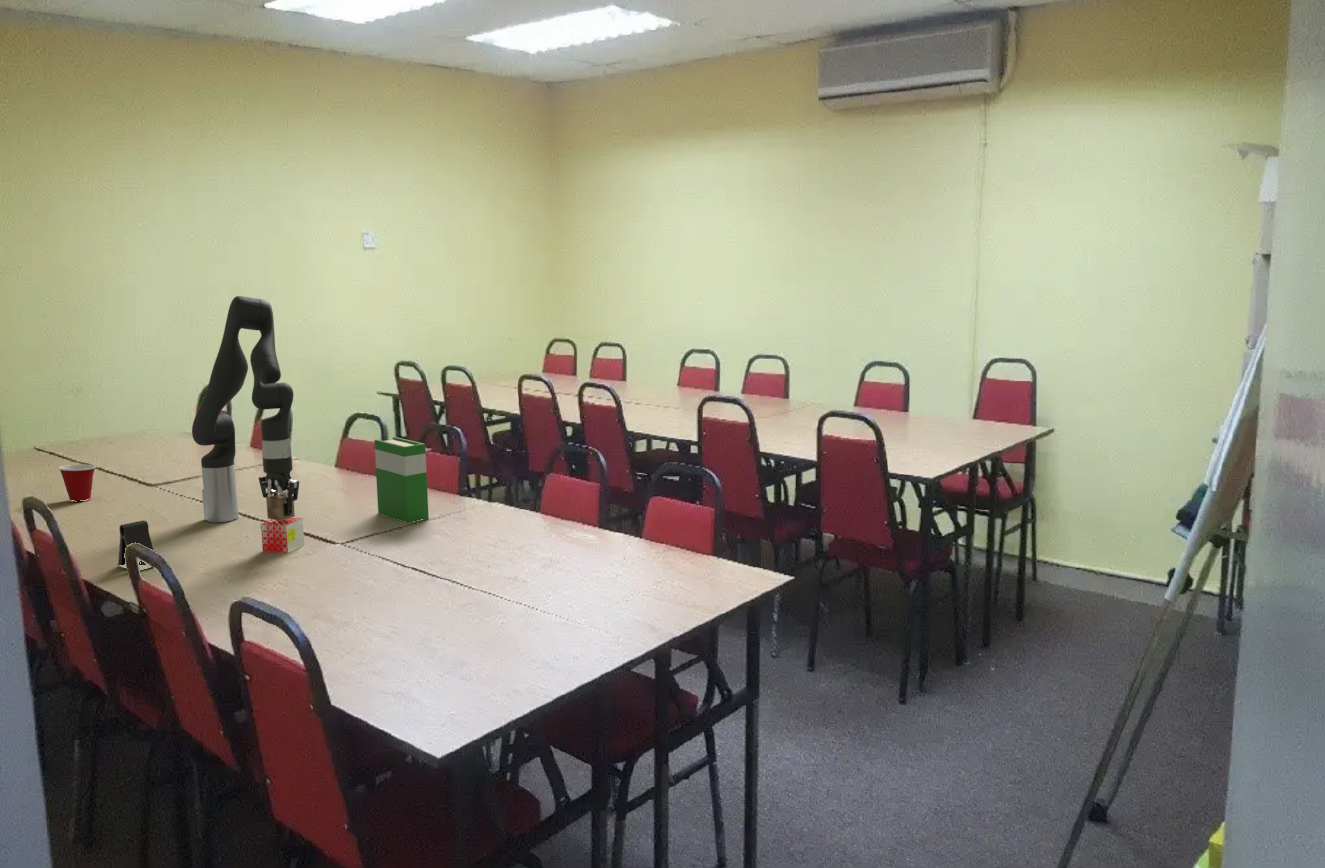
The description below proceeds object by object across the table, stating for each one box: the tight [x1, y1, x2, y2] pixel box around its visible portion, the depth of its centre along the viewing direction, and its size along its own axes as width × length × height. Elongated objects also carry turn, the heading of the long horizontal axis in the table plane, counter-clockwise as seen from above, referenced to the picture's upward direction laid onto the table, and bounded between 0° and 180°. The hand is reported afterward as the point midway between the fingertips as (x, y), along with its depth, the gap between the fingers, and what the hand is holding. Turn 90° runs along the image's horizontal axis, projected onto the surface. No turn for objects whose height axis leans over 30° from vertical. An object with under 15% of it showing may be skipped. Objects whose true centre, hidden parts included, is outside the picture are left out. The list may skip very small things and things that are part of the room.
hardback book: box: [374, 436, 430, 524], centre depth 297 cm, size 18×7×24 cm, turn 46°
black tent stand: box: [117, 520, 154, 570], centre depth 247 cm, size 9×6×12 cm, turn 53°
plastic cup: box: [58, 464, 97, 501], centre depth 317 cm, size 11×11×12 cm
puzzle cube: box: [260, 517, 305, 554], centre depth 265 cm, size 8×8×8 cm
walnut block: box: [265, 493, 296, 521], centre depth 263 cm, size 5×5×6 cm
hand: (281, 514), depth 263 cm, fingers closed on walnut block, 5 cm apart
